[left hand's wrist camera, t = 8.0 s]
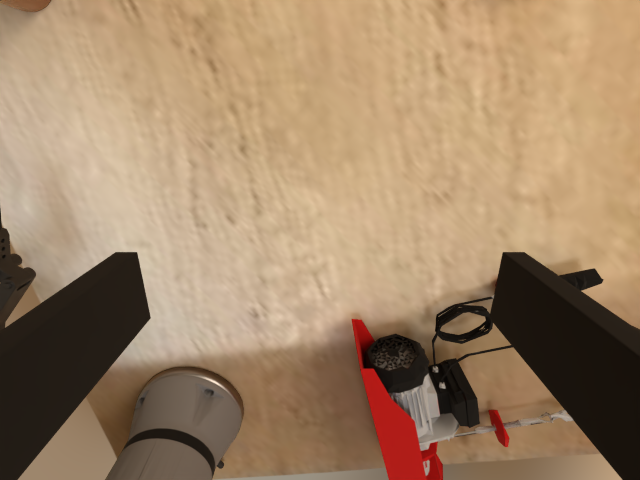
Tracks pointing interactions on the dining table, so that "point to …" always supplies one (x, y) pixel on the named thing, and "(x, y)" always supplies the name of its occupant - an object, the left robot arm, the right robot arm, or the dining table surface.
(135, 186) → the dining table surface
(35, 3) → the bottle
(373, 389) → the electric hoist
